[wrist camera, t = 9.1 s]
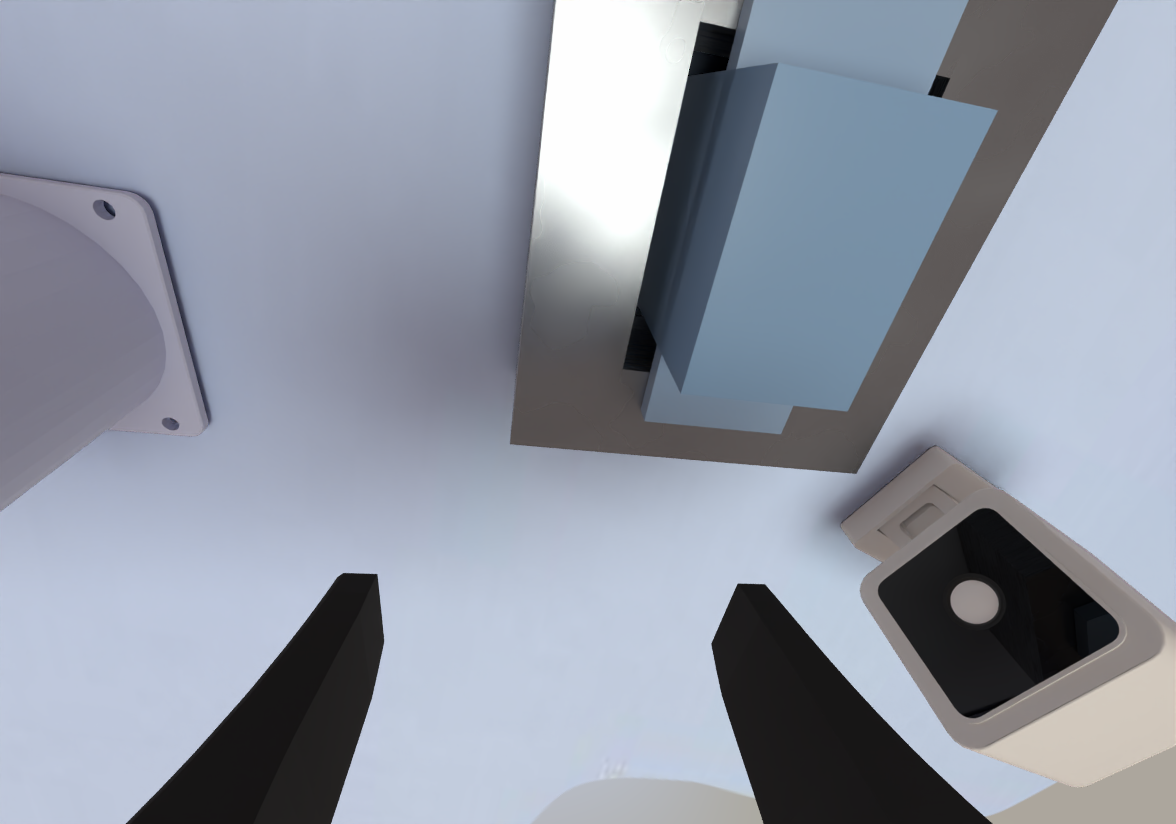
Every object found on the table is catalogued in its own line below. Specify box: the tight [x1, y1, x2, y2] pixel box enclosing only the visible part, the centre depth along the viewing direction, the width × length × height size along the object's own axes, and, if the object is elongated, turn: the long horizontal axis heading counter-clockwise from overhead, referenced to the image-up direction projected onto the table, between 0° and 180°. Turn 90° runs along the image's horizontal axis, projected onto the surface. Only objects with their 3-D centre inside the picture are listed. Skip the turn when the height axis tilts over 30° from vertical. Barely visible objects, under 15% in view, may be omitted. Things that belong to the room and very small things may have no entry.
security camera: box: [841, 446, 1176, 787], centre depth 19 cm, size 6×7×10 cm
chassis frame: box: [510, 0, 1118, 474], centre depth 14 cm, size 11×13×4 cm
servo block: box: [637, 0, 998, 434], centre depth 13 cm, size 4×10×7 cm, turn 171°
